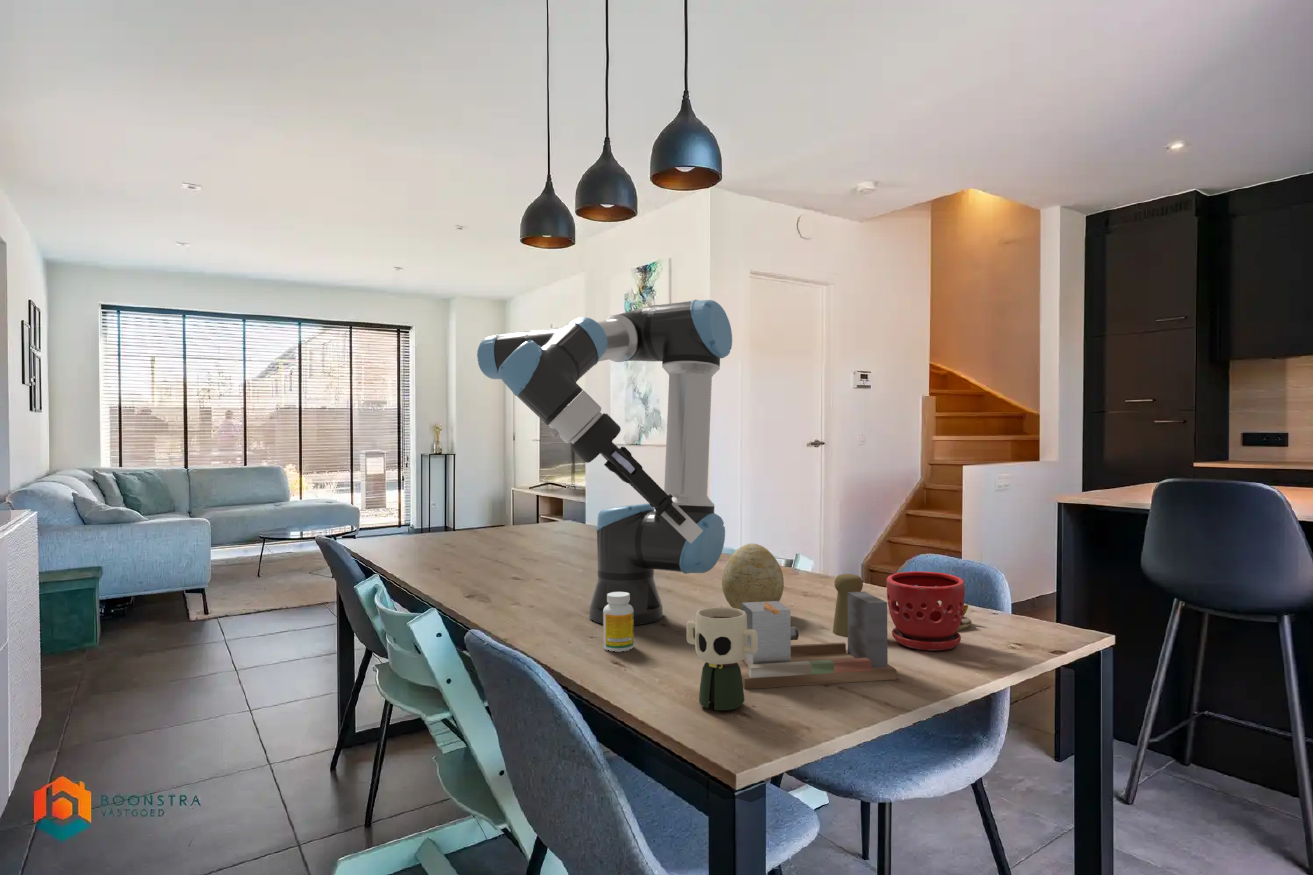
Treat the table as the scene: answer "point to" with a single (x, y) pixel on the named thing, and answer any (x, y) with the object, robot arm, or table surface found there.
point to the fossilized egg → (752, 576)
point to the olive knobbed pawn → (844, 601)
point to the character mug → (721, 654)
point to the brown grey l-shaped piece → (834, 653)
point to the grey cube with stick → (770, 632)
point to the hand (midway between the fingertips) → (695, 536)
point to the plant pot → (926, 609)
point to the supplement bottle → (618, 623)
